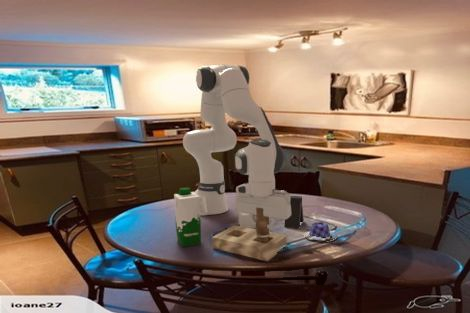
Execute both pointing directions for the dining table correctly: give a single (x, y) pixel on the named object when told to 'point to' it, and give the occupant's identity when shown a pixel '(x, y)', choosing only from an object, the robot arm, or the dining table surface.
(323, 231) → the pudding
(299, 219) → the black a-frame sign
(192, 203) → the milk carton
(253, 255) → the oak board
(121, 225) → the dining table surface
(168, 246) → the dining table surface
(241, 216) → the white cube
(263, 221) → the walnut peg
